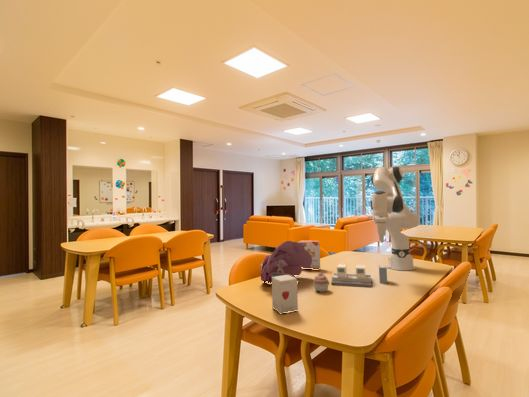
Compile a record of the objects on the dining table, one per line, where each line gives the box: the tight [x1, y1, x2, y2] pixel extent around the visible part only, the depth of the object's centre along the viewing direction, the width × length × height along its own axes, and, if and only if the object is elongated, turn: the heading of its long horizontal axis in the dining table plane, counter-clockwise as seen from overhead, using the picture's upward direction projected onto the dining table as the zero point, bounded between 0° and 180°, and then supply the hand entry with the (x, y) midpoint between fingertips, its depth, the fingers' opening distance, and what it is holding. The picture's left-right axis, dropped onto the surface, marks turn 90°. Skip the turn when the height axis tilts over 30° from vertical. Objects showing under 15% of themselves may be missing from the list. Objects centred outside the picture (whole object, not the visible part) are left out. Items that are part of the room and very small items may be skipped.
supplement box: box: [271, 275, 299, 313], centre depth 132 cm, size 9×9×15 cm
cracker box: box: [298, 239, 321, 269], centre depth 208 cm, size 14×6×21 cm, turn 68°
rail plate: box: [330, 263, 372, 288], centre depth 173 cm, size 19×22×9 cm
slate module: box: [378, 265, 388, 285], centre depth 170 cm, size 6×4×9 cm, turn 161°
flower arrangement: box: [260, 240, 312, 284], centre depth 176 cm, size 35×24×28 cm
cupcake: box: [312, 272, 331, 293], centre depth 158 cm, size 9×9×10 cm
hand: (381, 241), depth 171 cm, fingers open, 8 cm apart
